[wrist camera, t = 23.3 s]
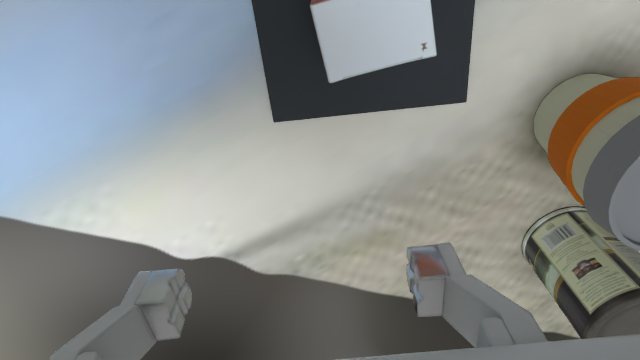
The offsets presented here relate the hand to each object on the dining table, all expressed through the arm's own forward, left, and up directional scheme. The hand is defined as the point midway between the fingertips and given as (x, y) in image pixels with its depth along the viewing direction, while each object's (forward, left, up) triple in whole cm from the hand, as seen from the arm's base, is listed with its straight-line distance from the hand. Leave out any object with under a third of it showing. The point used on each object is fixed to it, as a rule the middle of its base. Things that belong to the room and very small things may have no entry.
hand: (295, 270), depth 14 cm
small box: (+5, +5, -28) cm, 29 cm away
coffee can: (+30, -25, -29) cm, 48 cm away
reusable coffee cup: (+28, -8, -28) cm, 40 cm away
